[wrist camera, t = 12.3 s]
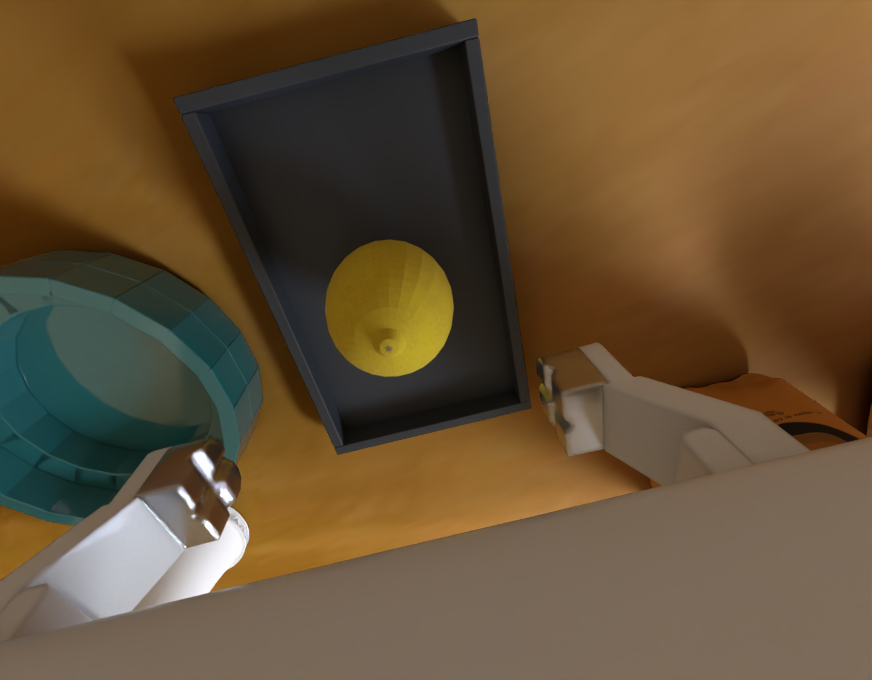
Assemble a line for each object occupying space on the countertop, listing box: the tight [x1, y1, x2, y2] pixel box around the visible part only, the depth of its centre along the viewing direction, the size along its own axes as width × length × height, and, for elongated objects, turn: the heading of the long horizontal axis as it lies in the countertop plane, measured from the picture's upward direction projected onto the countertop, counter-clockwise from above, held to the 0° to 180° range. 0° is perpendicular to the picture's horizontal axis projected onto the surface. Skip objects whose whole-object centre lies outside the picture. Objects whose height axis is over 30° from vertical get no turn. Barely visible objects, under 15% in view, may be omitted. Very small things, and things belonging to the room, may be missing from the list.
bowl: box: [0, 250, 263, 526], centre depth 21 cm, size 15×15×4 cm
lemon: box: [325, 239, 454, 377], centre depth 17 cm, size 6×6×8 cm
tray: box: [173, 18, 531, 455], centre depth 21 cm, size 19×12×2 cm, turn 12°
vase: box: [132, 506, 249, 611], centre depth 24 cm, size 8×8×10 cm
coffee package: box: [650, 373, 868, 488], centre depth 20 cm, size 10×12×22 cm
